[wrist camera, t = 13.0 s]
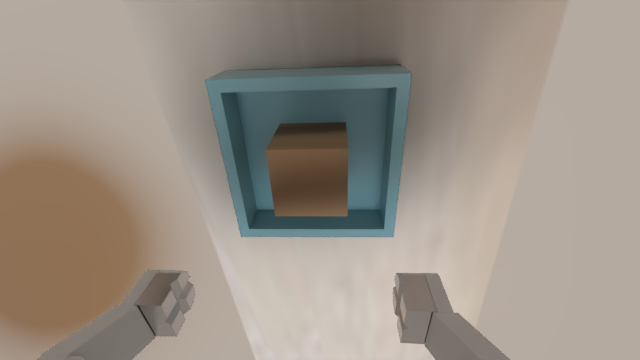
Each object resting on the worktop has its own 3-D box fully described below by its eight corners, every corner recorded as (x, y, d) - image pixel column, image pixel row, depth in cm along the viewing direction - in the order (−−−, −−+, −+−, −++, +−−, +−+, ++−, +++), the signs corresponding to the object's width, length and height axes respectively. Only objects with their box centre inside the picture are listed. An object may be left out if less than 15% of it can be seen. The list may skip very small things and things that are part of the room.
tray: (224, 70, 21) (205, 79, 18) (400, 64, 20) (411, 73, 17) (251, 211, 27) (240, 236, 24) (386, 211, 26) (393, 237, 23)
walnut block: (279, 123, 22) (265, 150, 17) (346, 122, 21) (348, 148, 17) (286, 180, 24) (275, 216, 20) (345, 180, 24) (347, 216, 19)
